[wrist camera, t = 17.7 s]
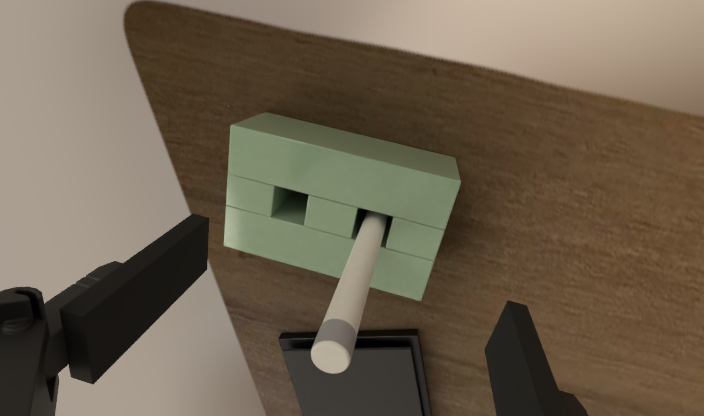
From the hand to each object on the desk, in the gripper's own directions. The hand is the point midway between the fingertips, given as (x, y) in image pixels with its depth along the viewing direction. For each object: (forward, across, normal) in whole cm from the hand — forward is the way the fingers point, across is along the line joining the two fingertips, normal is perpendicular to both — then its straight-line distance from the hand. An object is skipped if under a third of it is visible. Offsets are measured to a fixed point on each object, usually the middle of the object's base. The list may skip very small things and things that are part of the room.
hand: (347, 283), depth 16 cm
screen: (+10, +4, -21) cm, 24 cm away
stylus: (+11, 0, -1) cm, 11 cm away
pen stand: (+11, -2, 0) cm, 12 cm away
